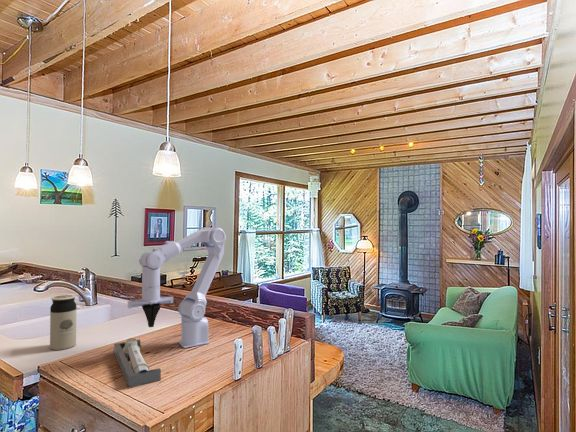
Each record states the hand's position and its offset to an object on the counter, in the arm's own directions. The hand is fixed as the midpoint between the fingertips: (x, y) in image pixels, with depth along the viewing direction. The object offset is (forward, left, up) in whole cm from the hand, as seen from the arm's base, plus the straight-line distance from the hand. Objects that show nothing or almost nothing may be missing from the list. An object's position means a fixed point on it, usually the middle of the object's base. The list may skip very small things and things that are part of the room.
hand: (150, 326), depth 122 cm
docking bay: (+6, +7, -9) cm, 13 cm away
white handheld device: (+6, +9, -10) cm, 15 cm away
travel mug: (+25, -25, -10) cm, 37 cm away
